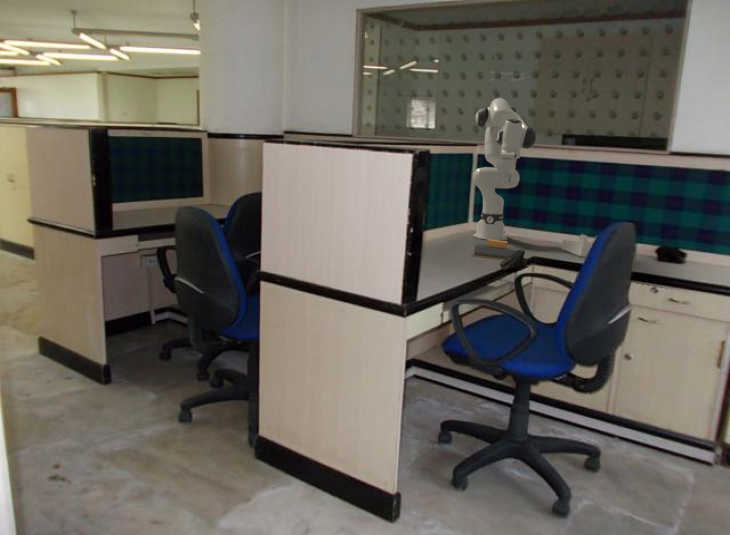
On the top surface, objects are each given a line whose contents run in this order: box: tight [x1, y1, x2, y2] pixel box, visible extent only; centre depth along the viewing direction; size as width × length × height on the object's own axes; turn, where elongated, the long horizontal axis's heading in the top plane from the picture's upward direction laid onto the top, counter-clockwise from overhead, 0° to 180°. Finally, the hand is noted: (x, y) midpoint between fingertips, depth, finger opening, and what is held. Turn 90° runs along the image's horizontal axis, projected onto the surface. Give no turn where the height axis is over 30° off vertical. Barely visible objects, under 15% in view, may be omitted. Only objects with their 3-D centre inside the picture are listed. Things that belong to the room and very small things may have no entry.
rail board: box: [470, 243, 520, 261], centre depth 292 cm, size 12×22×5 cm, turn 69°
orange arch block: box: [486, 239, 509, 249], centre depth 292 cm, size 3×9×6 cm, turn 68°
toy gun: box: [499, 249, 528, 271], centre depth 269 cm, size 2×16×10 cm, turn 130°
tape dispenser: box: [560, 233, 597, 258], centre depth 313 cm, size 18×10×10 cm, turn 13°
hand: (507, 183), depth 294 cm, fingers open, 8 cm apart
